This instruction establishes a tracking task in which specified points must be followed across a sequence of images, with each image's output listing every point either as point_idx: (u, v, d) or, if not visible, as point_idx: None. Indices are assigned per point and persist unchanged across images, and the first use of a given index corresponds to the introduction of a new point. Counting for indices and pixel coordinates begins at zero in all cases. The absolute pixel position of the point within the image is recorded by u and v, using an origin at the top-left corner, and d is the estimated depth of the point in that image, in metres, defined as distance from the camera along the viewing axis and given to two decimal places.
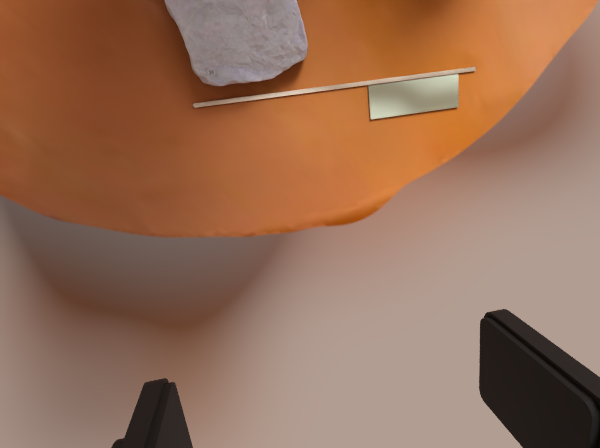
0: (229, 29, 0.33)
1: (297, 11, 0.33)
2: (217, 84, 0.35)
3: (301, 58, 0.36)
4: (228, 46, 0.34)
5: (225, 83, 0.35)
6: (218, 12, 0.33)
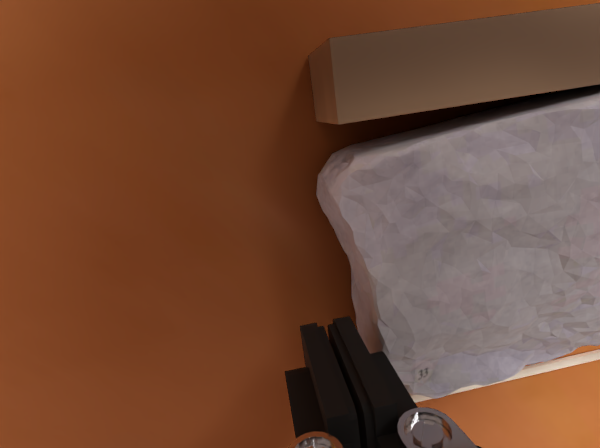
0: (508, 285, 0.11)
1: None
2: (430, 396, 0.13)
3: None
4: (492, 323, 0.12)
5: (450, 391, 0.13)
6: (489, 244, 0.11)
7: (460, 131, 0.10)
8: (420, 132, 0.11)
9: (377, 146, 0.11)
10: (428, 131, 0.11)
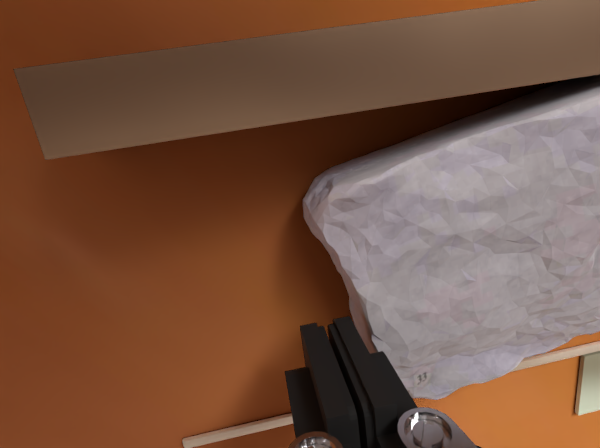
0: (494, 290, 0.12)
1: None
2: (431, 397, 0.14)
3: None
4: (483, 326, 0.12)
5: (450, 392, 0.14)
6: (472, 254, 0.11)
7: (432, 151, 0.10)
8: (397, 151, 0.12)
9: (355, 171, 0.11)
10: (404, 150, 0.12)
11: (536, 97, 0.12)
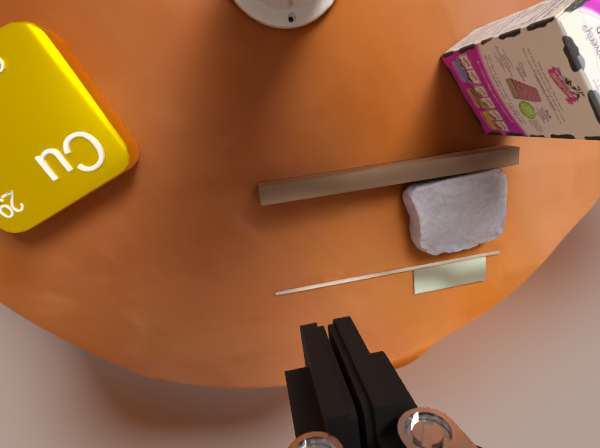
0: (453, 220, 0.44)
1: (505, 211, 0.44)
2: (433, 254, 0.46)
3: (495, 237, 0.47)
4: (449, 231, 0.45)
5: (438, 253, 0.46)
6: (448, 209, 0.44)
7: (441, 181, 0.43)
8: (431, 180, 0.44)
9: (421, 184, 0.43)
10: (433, 180, 0.44)
11: None
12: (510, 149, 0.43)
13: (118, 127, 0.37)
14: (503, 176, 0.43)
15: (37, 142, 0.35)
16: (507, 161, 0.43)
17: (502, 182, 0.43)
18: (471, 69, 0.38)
